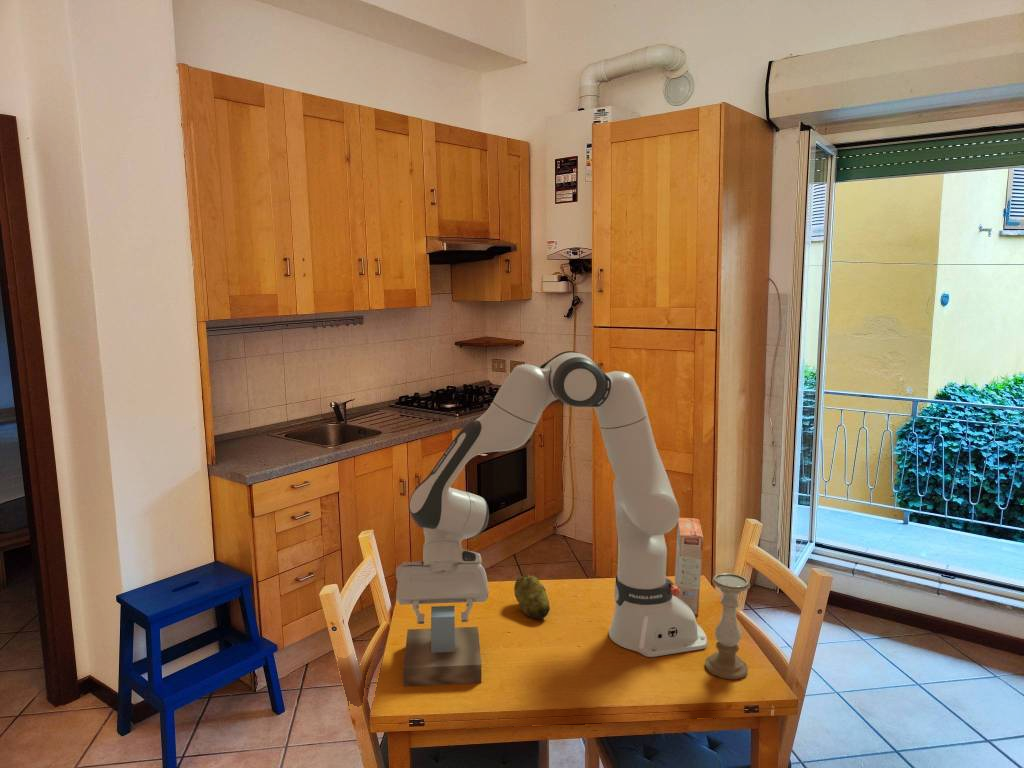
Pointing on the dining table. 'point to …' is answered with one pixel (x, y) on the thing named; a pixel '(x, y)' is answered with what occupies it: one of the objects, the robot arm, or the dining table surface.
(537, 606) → the potato
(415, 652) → the plinth
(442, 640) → the block
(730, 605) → the candle holder
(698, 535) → the cracker box
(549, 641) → the dining table surface
